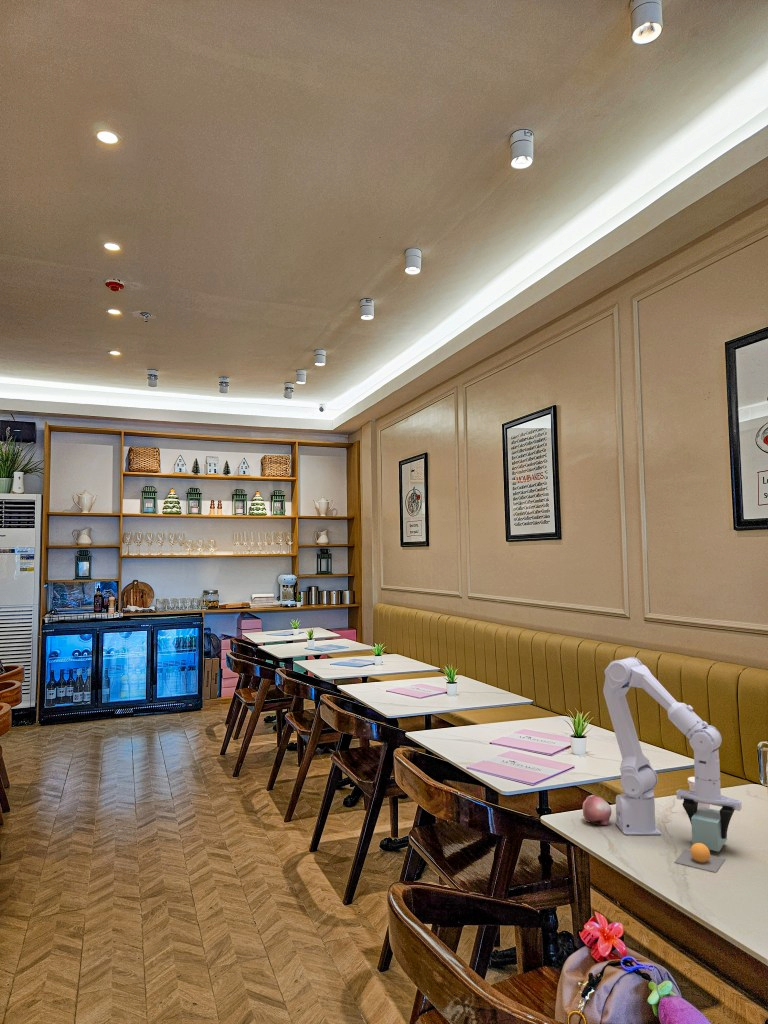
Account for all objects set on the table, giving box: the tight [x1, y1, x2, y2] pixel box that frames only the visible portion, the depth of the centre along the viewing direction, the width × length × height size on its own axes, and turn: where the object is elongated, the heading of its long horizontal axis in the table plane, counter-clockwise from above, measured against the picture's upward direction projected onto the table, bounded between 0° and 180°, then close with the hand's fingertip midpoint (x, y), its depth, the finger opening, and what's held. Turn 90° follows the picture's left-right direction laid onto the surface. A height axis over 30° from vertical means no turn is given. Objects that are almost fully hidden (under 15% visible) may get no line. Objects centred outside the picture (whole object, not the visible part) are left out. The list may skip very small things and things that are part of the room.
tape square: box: [674, 849, 726, 873], centre depth 163 cm, size 9×9×1 cm
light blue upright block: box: [690, 807, 728, 852], centre depth 171 cm, size 9×6×7 cm
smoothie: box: [687, 776, 711, 810], centre depth 193 cm, size 6×6×14 cm
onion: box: [582, 794, 612, 826], centre depth 189 cm, size 8×8×7 cm
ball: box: [689, 843, 711, 863], centre depth 163 cm, size 4×4×4 cm
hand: (709, 834), depth 171 cm, fingers closed on light blue upright block, 6 cm apart
